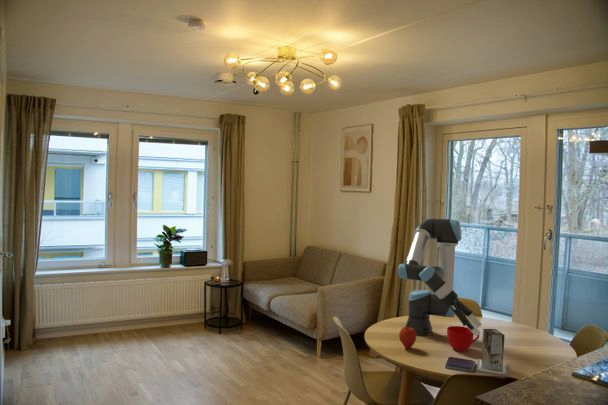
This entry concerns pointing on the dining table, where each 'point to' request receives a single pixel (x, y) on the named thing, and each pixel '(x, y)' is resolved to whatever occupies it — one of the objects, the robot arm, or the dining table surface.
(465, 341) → the ceramic cup
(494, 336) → the coffee box
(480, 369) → the marked board
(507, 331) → the dining table surface
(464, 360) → the ink pad
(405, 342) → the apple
